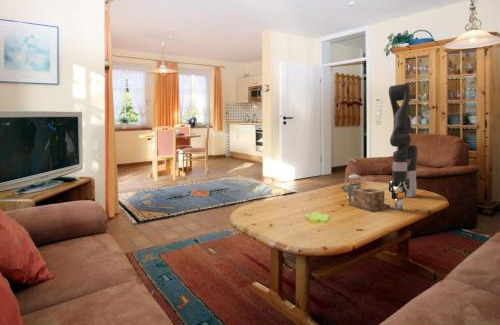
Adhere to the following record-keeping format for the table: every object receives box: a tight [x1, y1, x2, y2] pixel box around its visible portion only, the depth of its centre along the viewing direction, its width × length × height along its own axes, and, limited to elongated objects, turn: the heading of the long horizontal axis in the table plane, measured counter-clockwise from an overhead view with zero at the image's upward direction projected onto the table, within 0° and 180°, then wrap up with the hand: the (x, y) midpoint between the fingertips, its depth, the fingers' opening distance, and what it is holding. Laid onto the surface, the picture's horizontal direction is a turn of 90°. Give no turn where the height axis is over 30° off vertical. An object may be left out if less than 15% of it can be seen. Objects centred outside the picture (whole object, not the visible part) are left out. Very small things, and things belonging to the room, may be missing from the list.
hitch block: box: [347, 187, 391, 213], centre depth 204 cm, size 15×18×10 cm
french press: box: [343, 159, 362, 200], centre depth 227 cm, size 10×12×25 cm
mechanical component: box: [340, 184, 359, 203], centre depth 217 cm, size 3×10×10 cm, turn 78°
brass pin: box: [394, 190, 406, 211], centre depth 196 cm, size 6×6×10 cm
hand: (398, 197), depth 196 cm, fingers open, 8 cm apart
